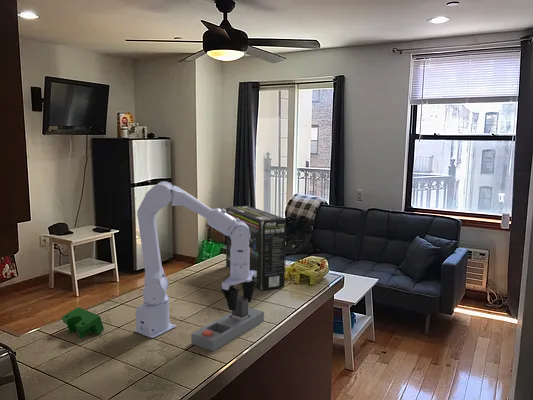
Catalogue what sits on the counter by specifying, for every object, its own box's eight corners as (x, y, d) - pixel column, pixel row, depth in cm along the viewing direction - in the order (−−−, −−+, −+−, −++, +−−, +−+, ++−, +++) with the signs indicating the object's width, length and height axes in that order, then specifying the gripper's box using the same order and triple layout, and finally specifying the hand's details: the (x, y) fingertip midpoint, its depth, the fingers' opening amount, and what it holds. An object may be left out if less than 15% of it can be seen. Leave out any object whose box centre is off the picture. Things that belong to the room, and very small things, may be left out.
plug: (242, 327, 132) (242, 302, 131) (231, 324, 134) (231, 299, 133) (248, 323, 135) (248, 298, 133) (237, 320, 137) (237, 296, 136)
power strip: (213, 351, 119) (212, 339, 118) (191, 343, 123) (191, 331, 122) (264, 320, 138) (264, 309, 138) (243, 314, 143) (243, 304, 142)
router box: (286, 287, 169) (287, 218, 165) (261, 291, 164) (261, 221, 159) (247, 262, 200) (247, 204, 196) (224, 265, 195) (224, 206, 191)
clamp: (72, 344, 131) (57, 318, 130) (90, 333, 136) (75, 307, 135) (89, 342, 123) (73, 314, 122) (107, 329, 128) (92, 302, 127)
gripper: (235, 271, 123) (235, 316, 126) (264, 259, 135) (264, 301, 137) (216, 266, 127) (216, 311, 129) (246, 255, 139) (246, 296, 141)
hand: (239, 305), depth 134 cm, fingers open, 7 cm apart
